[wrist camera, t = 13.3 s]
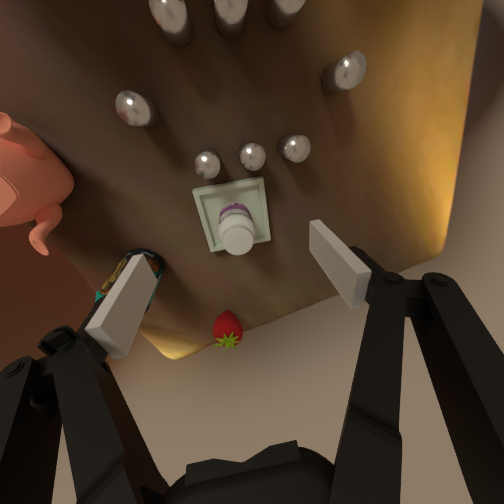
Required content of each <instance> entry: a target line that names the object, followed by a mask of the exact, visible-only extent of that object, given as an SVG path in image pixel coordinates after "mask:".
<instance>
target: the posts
mask: <svg viewBox="0 0 504 504" xmlns="http://www.w3.org/2000/svg"><path fill="white" fill-rule="evenodd" d="M305 1H306V0H269V3H268V7H267V14H268V19H269V22H270V24H271V26H272V27H273V28H274V29H276V30H278V31H283V30H285V29H287V28H288V27H289V26H290V24H291V23H292V21H293V20H294V18H295V17H296V15H297V14H298V12H299V11H300V9H301V8H302V6H303V4H304V3H305ZM247 4H248V0H214V5H215V20H216V25H217V28H218V30H219V32H220V33H221V34H222V35H223V36H224V37H225V38H227V39H234V38H236V37H238V36H239V34H240V33H241V31H242V28H243V24H244V19H245V14H246V9H247ZM149 6H150V10H151V12H152V15H153V16H154V18H155V20H156V21H157V23H158V25H159V26H160V28H161V30H162V31H163V33H164V35H165V36H166V38H167V39H168V41H169V42H170V43H171V44H172V45H174V46H176V47H179V48H182V47H185V46H187V45H188V44H189V42H190V40H191V37H192V26H191V23H190V19H189V16H188V12H187V9H186V6H185V2H184V0H149ZM366 68H367V63H366V58H365V56H364V55H363V54H362V53H361V52H359V51H353V52H351V53H349V54H347V55H346V56H344V57H342V58H341V59H339V60H337V61H336V62H334V63H332V64H331V65H329V66H328V67H327V68H326V69H325V70H324V72H323V74H322V77H321V87H322V90H323V91H324V92H325V93H326V94H328V95H332V94H335V93H339V92H342V91H345V90H348V89H351V88H354V87H356V86H357V85H359V84H360V82H361V81H362V80H363V78H364V76H365V73H366ZM116 109H117V112H118V114H119V116H120V117H121V118H122V119H123V120H124V121H125V122H126V123H128V124H129V125H132V126H144V127H152V126H155V125H156V124H157V123H158V121H159V117H160V114H159V110H158V107H157V106H156V104H155V103H154V102H153V101H152V100H151V99H149V98H147V97H144V96H142V95H140V94H137V93H135V92H132V91H122V92H121V93H119V94H118V96H117V98H116ZM278 152H279V154H280V155H281V156H282V157H284V158H286V159H288V160H290V161H292V162H296V163H298V162H302V161H303V160H305V159H306V158H307V156H308V155H309V153H310V142H309V140H308V138H307V137H305V136H303V135H292V134H287V135H284V136H283V137H282V138H281V139H280V140H279V142H278ZM238 155H239V159H240V161H241V162H242V164H243V166H244V167H245V168H246V169H248V170H251V171H255V170H258V169H260V168H261V167H262V166H263V164H264V162H265V152H264V150H263V148H262V147H261V146H260V145H258V144H256V143H253V142H245V143H243V144H242V145H241V146H240V148H239V151H238ZM195 169H196V171H197V173H198V174H199V175H200V176H201V177H203V178H205V179H212V178H214V177H216V176H217V175H218V173H219V171H220V157H219V155H218V153H217V152H216V151H214V150H212V149H205V150H203V151H202V152H201V153H200V154H199V155H198V156H197V158H196V160H195Z"/></svg>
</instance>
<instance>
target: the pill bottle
mask: <svg viewBox="0 0 504 504" xmlns="http://www.w3.org/2000/svg"><path fill="white" fill-rule="evenodd" d="M218 237H219V240H220V241H221V243H222V244H223V246H224V248H225V249H226V251H227V252H229V253H231V254H233V255H242V254H245V253H247V252H248V251H249V250H250V249H251V247H252V245H253V240H254V237H255V226H254V223H253V220H252V217H251V214H250V212H249V210H248V208H247V207H246V206H245V205H244V204H242V203H240V202H229V203H227V204H225V205H224V206H223V207H222V208H221V210H220V212H219V218H218Z"/></svg>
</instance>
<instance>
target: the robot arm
mask: <svg viewBox="0 0 504 504" xmlns="http://www.w3.org/2000/svg"><path fill="white" fill-rule="evenodd" d="M309 251H310V252H311V253H312V255H313V256H314V258H315V259H316V261H317V262H318V263H319V265H320V266H321V268H322V269H323V271H324V272H325V273H326V275H327V276H328V278H329V279H330V281H331V282H332V284H333V285H334V286H335V288H336V289H337V291H338V292H339V294H340V295H341V296H342V298H343V299H344V301H345V302H346V304H347V305H348V307H349V308H350V309H351V310H353V309H358V308H363V307H364V303H365V300H366V302H367V303H368V304H369V305H370V306H369V310H368V314H367V319H366V324H365V328H364V333H363V337H362V342H361V346H360V351H359V355H358V360H357V365H356V369H355V373H354V379H353V382H352V387H351V392H350V396H349V401H348V405H347V410H346V414H345V419H344V423H343V428H342V432H341V437H340V441H339V445H338V449H337V454H336V458H335V463H334V465H333V464H332V463H331V462H330V461H329V460H327V459H326V458H325V457H323V456H322V455H320V454H319V453H317V452H315V451H313V450H310V449H307V448H304V447H298V445H297V441H296V440H294V441H289V442H285V443H281V444H276V445H272V446H269V447H267V448H266V449H264V450H263V451H261V452H259V453H258V454H256V455H254V456H253V457H251V458H250V459H248V460H246V461H245V462H241V463H240V462H233V461H227V460H220V459H210V460H205V461H201V462H196V463H192V464H188V465H187V466H186V474H185V475H183V476H182V477H181V478H179V479H178V480H177V481H176V482H175V483H174V484H173V485H172V486H171V487H169V485H168V484H167V482H166V481H165V479H164V478H163V477H162V476H161V474H160V473H159V471H158V469H157V467H156V465H155V463H154V461H153V459H152V457H151V454H150V452H149V450H148V448H147V446H146V444H145V442H144V440H143V437H142V435H141V433H140V431H139V429H138V427H137V425H136V422H135V420H134V418H133V416H132V414H131V412H130V410H129V408H128V405H127V404H126V401H125V399H124V397H123V395H122V393H121V391H120V389H119V386H118V385H117V382H116V380H115V378H114V376H113V374H112V371H111V369H110V367H109V365H108V363H107V362H105V359H106V357H107V355H108V354H109V356H111V358H112V359H119V358H124V357H127V356H128V353H129V351H130V348H131V345H132V343H133V341H134V338H135V336H136V333H137V331H138V328H139V326H140V323H141V321H142V318H143V316H144V313H145V311H146V308H147V306H148V303H149V301H150V298H151V296H152V293H153V291H154V288H155V286H156V283H157V279H156V277H155V275H154V273H153V271H152V270H151V268H150V266H149V264H148V262H147V260H146V258H145V257H144V255H143V254H139V255H134V256H133V257H132V258H131V260H130V261H129V263H128V264H127V266H126V267H125V269H124V270H123V272H122V273H121V275H120V276H119V278H118V279H117V281H116V282H115V284H114V285H113V287H112V288H111V290H110V291H109V293H108V294H107V296H105V297H103V298H102V299H100V300H99V301H98V302H97V303H96V304H95V306H94V307H93V309H92V311H91V312H90V313H89V314H88V317H87V318H86V319H85V320H84V322H83V323H82V325H81V326H80V328H79V329H78V330H77V332H75V331H74V330H73V329H72V328H71V327H70V326H67V325H64V326H61V327H58V328H56V329H54V330H52V331H51V332H49V333H48V334H46V335H45V336H44V337H43V338H42V339H41V341H40V342H39V343H38V348H39V349H40V350H41V351H43V352H44V353H45V354H47V356H46V357H43V358H41V359H39V360H34V359H33V358H32V357H30V356H26V357H22V358H19V359H17V360H16V361H14V362H12V363H10V364H9V365H8V366H7V367H5V368H4V369H3V370H2V371H1V372H0V504H51V503H52V495H53V488H54V480H55V473H56V465H57V458H58V450H59V442H60V435H61V428H62V424H63V429H64V434H65V439H66V444H67V450H68V455H69V460H70V466H71V471H72V475H73V481H74V486H75V491H76V497H77V503H76V504H400V490H401V467H402V437H401V434H400V432H399V411H400V393H401V375H402V356H403V340H404V322H405V317H410V318H411V321H412V324H413V327H414V330H415V333H416V336H417V339H418V342H419V345H420V348H421V351H422V354H423V357H424V360H425V363H426V366H427V369H428V372H429V375H430V378H431V381H432V384H433V387H434V390H435V393H436V396H437V399H438V402H439V405H440V408H441V411H442V414H443V417H444V420H445V423H446V426H447V429H448V432H449V435H450V438H451V441H452V443H453V447H454V450H455V453H456V456H457V459H458V462H459V465H460V468H461V471H462V474H463V476H464V480H465V482H466V485H467V488H468V491H469V494H470V496H471V499H472V501H473V504H504V354H503V353H502V351H501V350H500V348H499V347H498V345H497V344H496V342H495V341H494V339H493V337H492V336H491V335H490V333H489V331H488V330H487V328H486V327H485V325H484V324H483V322H482V321H481V319H480V318H479V316H478V315H477V313H476V312H475V310H474V308H473V307H472V305H471V304H470V302H469V301H468V299H467V298H466V296H465V295H464V293H463V292H462V290H461V289H460V287H459V286H458V284H457V283H456V282H455V281H454V280H453V279H452V278H450V277H449V276H447V275H444V274H441V273H435V272H432V273H426V274H424V275H423V277H422V280H407V279H404V278H403V277H402V276H401V275H399V274H397V273H393V272H386V271H385V270H384V269H383V268H382V267H381V266H379V265H378V264H377V263H376V262H375V261H374V260H373V259H371V257H369V256H368V255H367V254H366V253H365V252H364V251H363V250H362V249H359V248H357V247H355V246H353V247H347V246H346V245H345V244H344V243H343V242H342V241H341V240H340V239H339V238H338V237H337V236H336V235H335V234H334V233H333V232H331V231H330V230H329V229H328V228H327V227H326V226H325V225H324V224H323V223H322V222H321V221H320V220H313V221H310V240H309Z"/></svg>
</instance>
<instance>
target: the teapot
mask: <svg viewBox="0 0 504 504" xmlns="http://www.w3.org/2000/svg"><path fill="white" fill-rule="evenodd" d="M73 188H74V178H73V176H72V175H71V173H70V172H69V170H68V169H67V168H66V166H65V165H64V164H63V163H62V162H61V160H60V159H59V158H58V157H57V156H56V155H55V154H54V153H53V151H52V150H51V149H50V148H49V147H48V146H47V145H45V144H44V143H43V141H42V140H41V139H40V138H39V137H38V136H37V135H36V134H35V133H34V132H33V131H31V130H30V129H28V128H27V127H25V126H22V125H21V124H19V123H18V122H16V121H15V120H13V119H12V118H10V117H9V116H8V115H7V114H6V113H2V112H0V227H3V226H12V225H17V224H22V223H26V222H29V221H32V220H36V222H37V226H36V227H35V228H34V229H33V230H32V231H31V232H30V235H29V240H30V243H31V244H32V246H33V247H34V248H35V249H36V250H37V251H38V252H40V253H41V254H43V255H45V256H47V255H49V251H48V248H47V246H46V243H45V240H46V237H47V235H48V234H49V232H51V231H52V230H53V229H54V228H55V227H56V226H57V225H58V224H59V222H60V221H61V219H62V214H63V213H62V208H61V206H60V203H62V202H63V201H64V200H65V199H66V198H67V197H68V195H69V194H70V193H71V192H72V190H73Z"/></svg>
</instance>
